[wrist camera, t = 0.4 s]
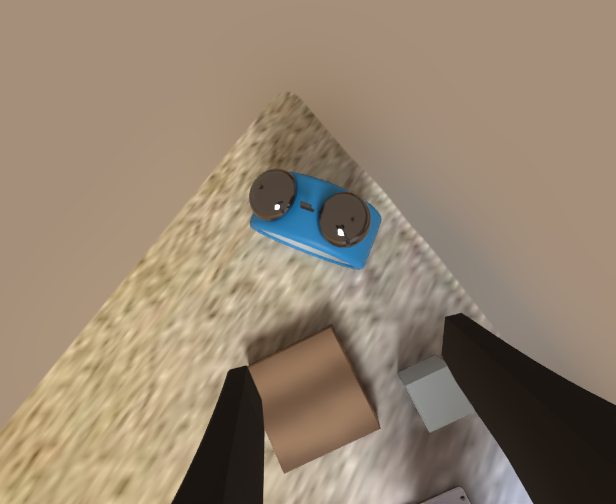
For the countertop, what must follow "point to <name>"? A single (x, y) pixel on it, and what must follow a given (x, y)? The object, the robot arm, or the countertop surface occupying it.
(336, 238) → the alarm clock
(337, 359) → the walnut base
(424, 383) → the slate cube
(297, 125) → the countertop surface
